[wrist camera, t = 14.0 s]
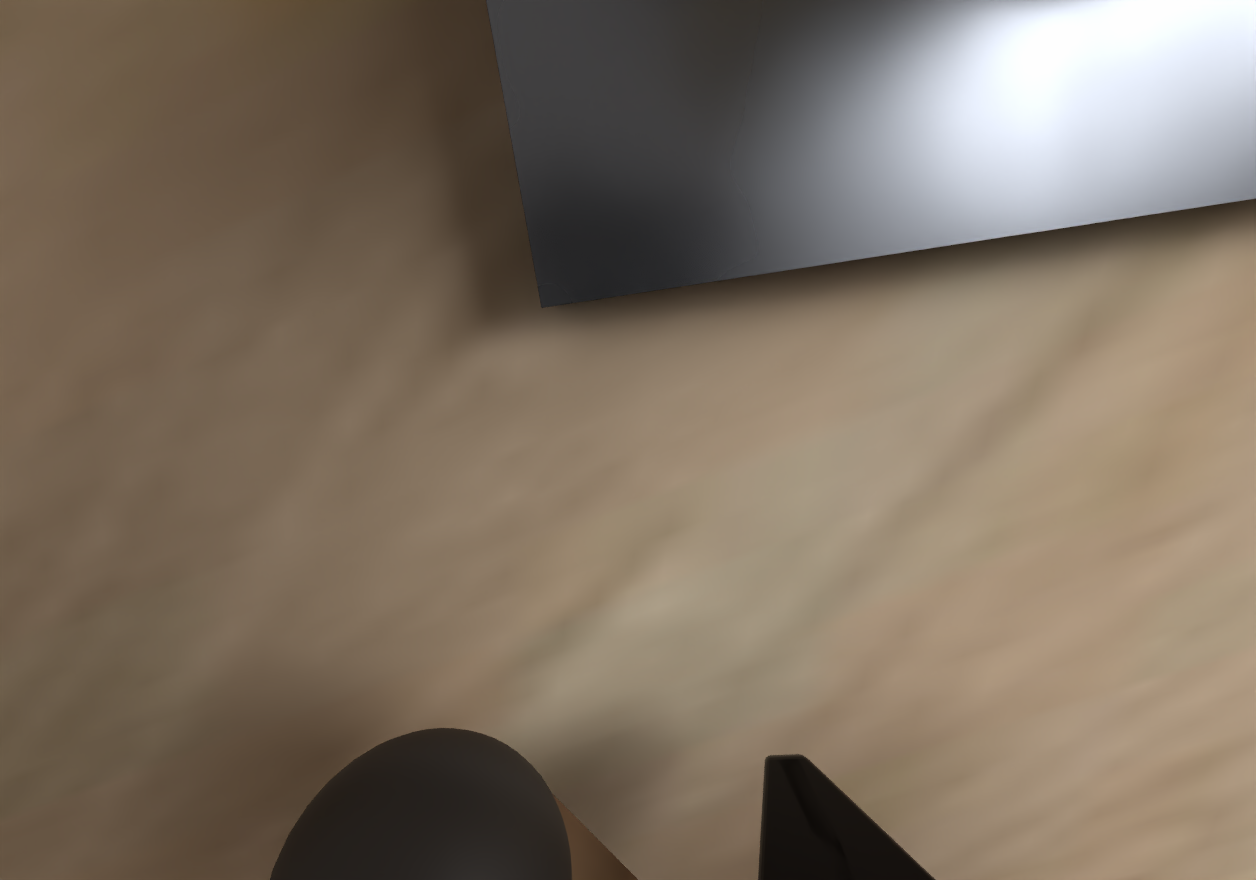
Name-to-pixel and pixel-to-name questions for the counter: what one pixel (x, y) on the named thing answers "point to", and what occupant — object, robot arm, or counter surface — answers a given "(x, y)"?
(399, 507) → the counter surface
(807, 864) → the robot arm
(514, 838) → the lever
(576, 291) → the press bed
